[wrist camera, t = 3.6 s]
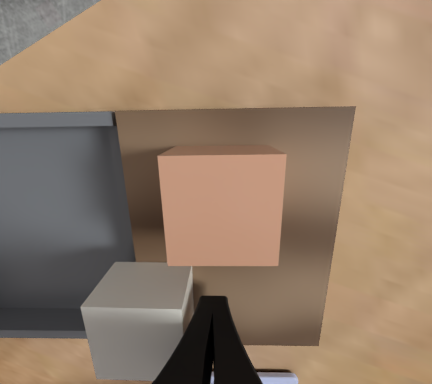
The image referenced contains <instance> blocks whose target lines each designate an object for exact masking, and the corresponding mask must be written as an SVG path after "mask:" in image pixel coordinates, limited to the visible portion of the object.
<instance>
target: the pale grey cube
mask: <svg viewBox="0 0 432 384" xmlns="http://www.w3.org/2000/svg"><path fill="white" fill-rule="evenodd" d="M80 308H81V312H82V317H83V321H84V325H85V330H86V334H87V339H88V343H89V347H90V352H91V356H92V361H93V365H94V369H95V374H96V378H97V379H110V380H139V381H154V380H155V379H156V377H157V376H158V375H159V373H160V372H161V370H162V369H163V367H164V366H165V364H166V363H167V361H168V360H169V358H170V357H171V355H172V354H173V352H174V350H175V349H176V347H177V345H178V343H179V342H180V340H181V338H182V336H183V335H184V333H185V331H186V329H187V327H188V325H189V323H190V321H191V319H192V316H193V314H194V299H193V274H192V266H168V264H167V263H162V262H115V263H114V264H113V265H112V267H111V268H110V269H109V271H108V272H107V273H106V274H105V276H104V277H103V278H102V280H101V281H100V282H99V283H98V285H97V286H96V287H95V289H94V290H93V291H92V293H91V294H90V295H89V296H88V298H87V299H86V300H85V302H84V303H83V304H82V305H81V307H80Z"/></svg>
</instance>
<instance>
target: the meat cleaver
mask: <svg viewBox="0 0 432 384" xmlns="http://www.w3.org/2000/svg"><path fill="white" fill-rule="evenodd" d="M99 1H100V0H0V65H1V64H3V63H4V62H6V61H7V60H9V59H10V58H12V57H14V56H15V55H17V54H18V53H20V52H21V51H23V50H24V49H26V48H27V47H29V46H31V45H32V44H34V43H35V42H37V41H38V40H40V39H41V38H43V37H44V36H46V35H48V34H49V33H51V32H52V31H54V30H55V29H57V28H58V27H60V26H61V25H63V24H65V23H66V22H68V21H69V20H71V19H72V18H74V17H75V16H77V15H79V14H80V13H82V12H83V11H85V10H86V9H88V8H89V7H91V6H92V5H94V4H96V3H97V2H99Z"/></svg>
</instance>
